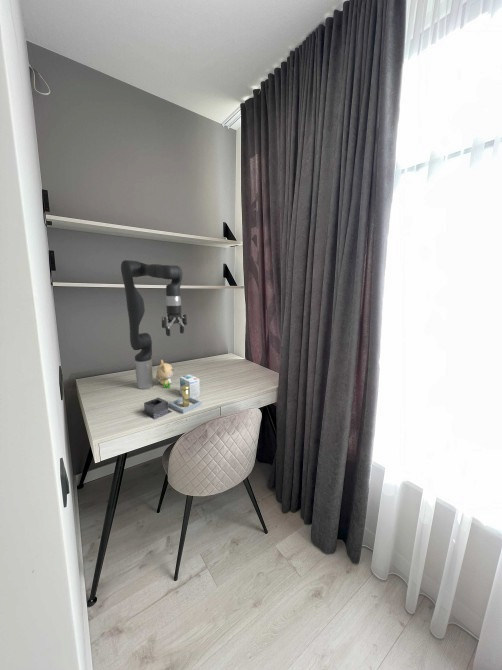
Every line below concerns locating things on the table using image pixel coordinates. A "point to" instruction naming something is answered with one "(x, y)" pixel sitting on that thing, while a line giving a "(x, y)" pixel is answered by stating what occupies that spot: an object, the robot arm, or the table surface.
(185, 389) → the pin
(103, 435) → the table surface
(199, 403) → the tray
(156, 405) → the block
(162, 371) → the kitten
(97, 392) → the table surface
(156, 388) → the table surface
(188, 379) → the light bulb box
